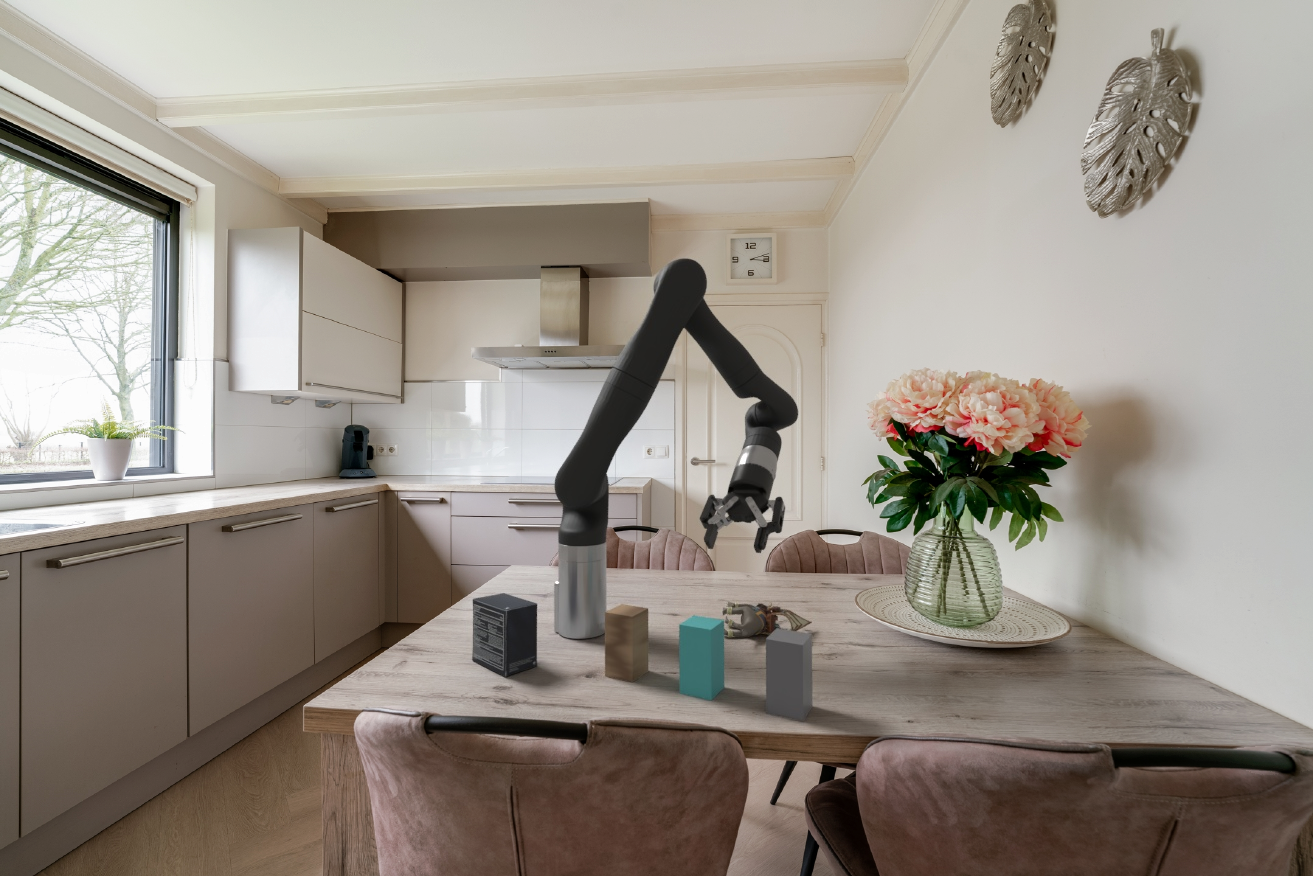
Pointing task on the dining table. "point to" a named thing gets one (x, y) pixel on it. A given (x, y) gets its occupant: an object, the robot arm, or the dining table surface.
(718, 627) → the teal block
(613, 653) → the walnut block
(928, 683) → the dining table surface
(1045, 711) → the dining table surface
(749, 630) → the figurine
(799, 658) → the charcoal block
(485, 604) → the small box
